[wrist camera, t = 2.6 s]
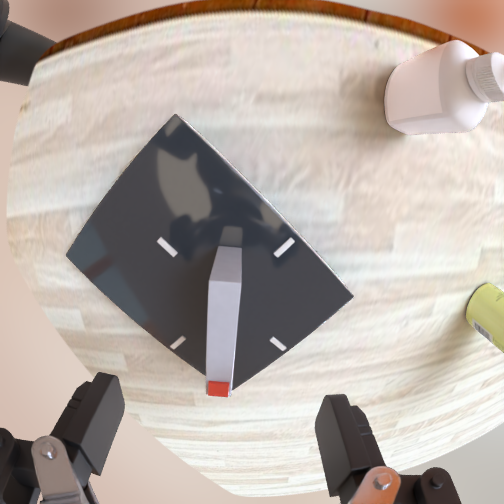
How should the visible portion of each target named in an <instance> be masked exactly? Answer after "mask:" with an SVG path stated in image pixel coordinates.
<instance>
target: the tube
mask: <svg viewBox="0 0 504 504" xmlns="http://www.w3.org/2000/svg"><path fill="white" fill-rule="evenodd" d="M466 319H467V321H468V323H469V324H470V325H471V326H473V327H474V328H475V329H476V330H477V331H478V332H480V333H481V334H482V335H483V336H484V337H486V338H487V339H488V340H489V341H490V342H491V343H493V344H494V345H495V346H496V347H497V348H498V349H500V350H501V351H502V352H503V353H504V292H503V291H501V290H500V289H498V288H497V287H495V286H494V285H492V284H490V283H486V284H484V285H482V286H481V287H479V288H478V289H477V290H476V292H475V293H474V294H473V296H472V297H471V299H470V301H469V304H468V306H467V311H466Z"/></svg>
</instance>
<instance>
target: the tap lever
mask: <svg viewBox="0 0 504 504" xmlns="http://www.w3.org/2000/svg"><path fill="white" fill-rule="evenodd" d="M241 284H242V248H237V247H225V246H218V249H217V252H216V256H215V260H214V263H213V267H212V271H211V274H210V278H209V284H208V309H207V341H206V394H207V395H209V396H219V397H229V396H231V392H232V381H233V370H234V359H235V348H236V337H237V326H238V316H239V305H240V295H241Z"/></svg>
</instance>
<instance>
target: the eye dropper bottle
mask: <svg viewBox="0 0 504 504" xmlns="http://www.w3.org/2000/svg"><path fill="white" fill-rule="evenodd" d="M497 101H504V56H503V55H502V54H500V53H498V52H493V53H489V54H485V55H482V56H479V55H478V54H477V53H476V52H475V51H474V50H473V49H472V48H471V47H469V46H468V45H466V44H465V43H463V42H461V41H458V40H454V41H450V42H447V43H445V44H442V45H439V46H437V47H435V48H433V49H430V50H428V51H426V52H424V53H422V54H419V55H417V56H415V57H413V58H411V59H409V60H407V61H405V62H403V63H401V64H399V65H398V66H397V67H396V68H395V69H394V71H393V72H392V74H391V75H390V77H389V80H388V82H387V86H386V90H385V99H384V105H385V115H386V120H387V122H388V124H389V125H390V126H391V127H392V128H394V129H396V130H398V131H400V132H402V133H405V134H407V135H417V134H436V133H458V132H469V131H471V130H473V129H475V127H476V126H477V125H478V124H479V122H480V121H481V119H482V118H483V116H484V114H485V112H486V110H487V107H488V104H489V102H497Z"/></svg>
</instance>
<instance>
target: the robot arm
mask: <svg viewBox="0 0 504 504" xmlns="http://www.w3.org/2000/svg"><path fill="white" fill-rule="evenodd" d="M124 408H125V403H124V398H123V394H122V390H121V387H120V383H119V379H118V377H117V376H115V375H111V374H107V373H103V372H98V373H97V374H96V376H95V378H94V379H93V381H92V383H91V382H88V381H86V382H85V383H83V384H82V385H81V386H79V387H78V388H77V389H76V391H75V392H74V394H73V396H72V399H71V400H70V401H69V403H68V404H67V407H66V408H65V409H64V411H63V413H62V415H61V417H60V418H59V420H58V422H57V423H56V425H55V427H54V429H53V431H52V432H51V434H50V435H49V436H43V437H40V438H38V439H37V440H35V441H26V440H20V439H15V438H14V437H13V436H12V434H11V433H10V432H9V431H8V430H6V429H4V428H0V504H37V500H38V498H39V495H40V492H42V496H43V500H42V501H40V504H99V502H98V500H97V498H96V495H95V493H94V491H93V489H92V487H91V484H90V482H89V477H90V475H91V473H93V474H96V475H99V476H100V475H101V472H102V470H103V467H104V464H105V461H106V458H107V456H108V453H109V450H110V448H111V445H112V442H113V440H114V437H115V434H116V432H117V429H118V426H119V424H120V421H121V419H122V417H123V413H124ZM315 433H316V437H317V441H318V446H319V450H320V455H321V459H322V463H323V468H324V472H325V477H326V481H327V486H328V490H329V495H330V497H333V496H339V497H340V501H341V502H340V503H339V504H461V501H460V499H459V496H458V494H457V491H456V489H455V486H454V484H453V481H452V479H451V477H450V475H449V473H448V472H447V471H445V470H444V469H442V468H437V467H434V468H430V469H428V470H426V472H424V473H423V474H422V475H400V474H398V473H397V472H396V471H395V470H394V469H392V468H390V467H387V466H386V465H385V463H384V460H383V458H382V455H381V452H380V450H379V447H378V445H377V442H376V440H375V437H374V435H373V434H372V430H371V427H370V426H369V422H368V420H367V418H366V415H365V414H364V413H363V412H362V410H361V409H360V408H359V407H358V406H350V404H349V401H348V398H347V396H346V395H345V394H336V395H326V396H325V397H324V399H323V402H322V405H321V407H320V410H319V412H318V415H317V417H316V421H315Z"/></svg>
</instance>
